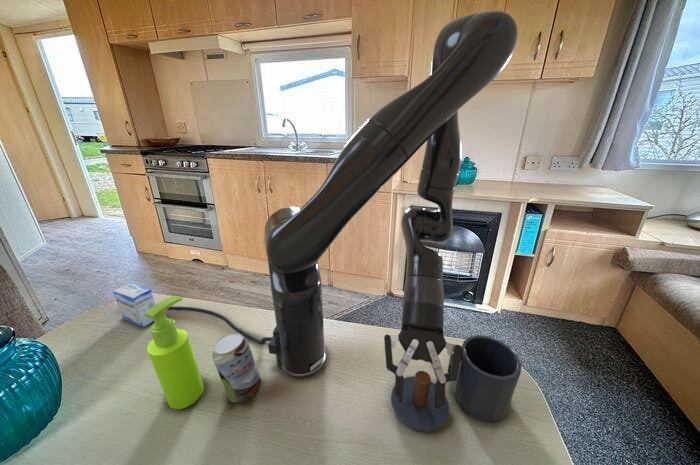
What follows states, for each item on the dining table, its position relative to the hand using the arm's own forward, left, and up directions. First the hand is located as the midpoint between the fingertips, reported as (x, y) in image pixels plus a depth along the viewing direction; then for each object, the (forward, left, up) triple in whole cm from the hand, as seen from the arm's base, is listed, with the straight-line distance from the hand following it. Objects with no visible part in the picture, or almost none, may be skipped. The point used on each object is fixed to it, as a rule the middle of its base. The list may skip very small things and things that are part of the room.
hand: (418, 403), depth 47 cm
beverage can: (-32, -1, -3) cm, 33 cm away
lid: (0, +2, -2) cm, 3 cm away
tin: (+12, +5, -3) cm, 13 cm away
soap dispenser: (-42, -3, -3) cm, 43 cm away
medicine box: (-68, +13, -3) cm, 70 cm away
